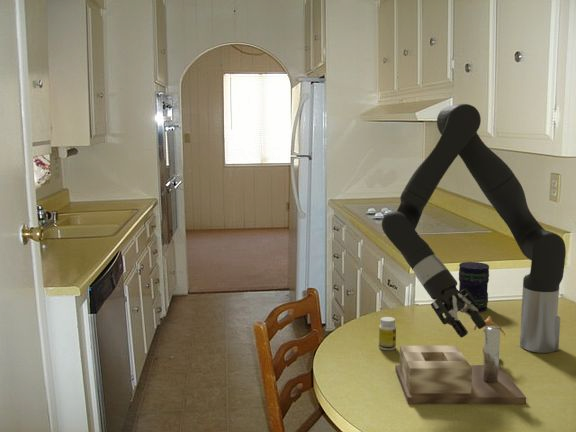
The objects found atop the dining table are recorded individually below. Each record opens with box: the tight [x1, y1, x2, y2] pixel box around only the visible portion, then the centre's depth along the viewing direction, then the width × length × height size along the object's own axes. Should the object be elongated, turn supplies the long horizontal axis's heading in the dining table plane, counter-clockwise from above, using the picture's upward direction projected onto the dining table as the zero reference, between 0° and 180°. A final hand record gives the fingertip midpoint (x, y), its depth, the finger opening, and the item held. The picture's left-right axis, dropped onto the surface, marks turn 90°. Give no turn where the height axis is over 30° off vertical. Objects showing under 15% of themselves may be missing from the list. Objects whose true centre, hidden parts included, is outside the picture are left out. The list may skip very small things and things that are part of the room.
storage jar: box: [458, 261, 490, 313], centre depth 201 cm, size 10×10×15 cm
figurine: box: [473, 315, 507, 354], centre depth 157 cm, size 8×6×12 cm
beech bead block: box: [399, 345, 472, 393], centre depth 141 cm, size 14×14×6 cm
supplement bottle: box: [378, 316, 397, 351], centre depth 166 cm, size 5×5×8 cm
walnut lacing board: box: [394, 364, 527, 405], centre depth 142 cm, size 26×18×2 cm
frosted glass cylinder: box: [483, 326, 501, 383], centre depth 140 cm, size 3×3×13 cm
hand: (474, 331), depth 143 cm, fingers open, 8 cm apart
